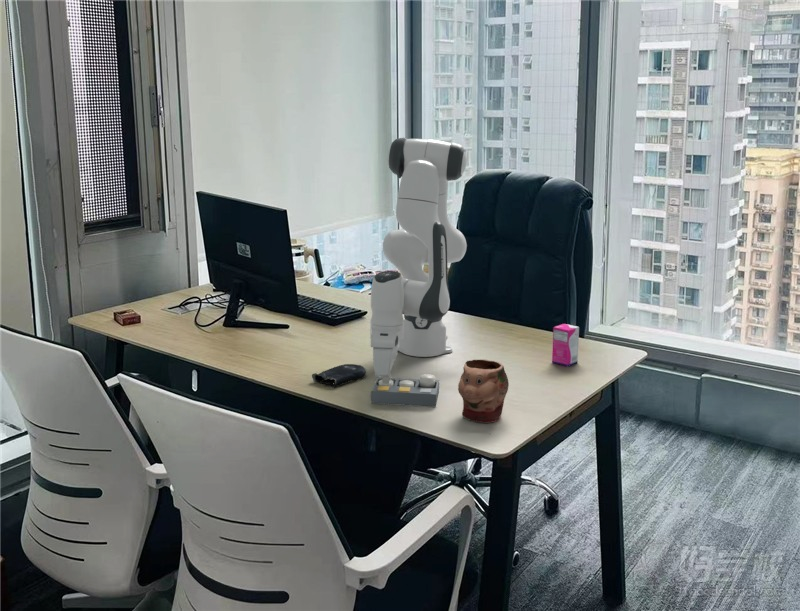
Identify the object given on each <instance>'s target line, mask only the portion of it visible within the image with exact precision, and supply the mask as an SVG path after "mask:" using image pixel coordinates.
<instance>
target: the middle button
mask: <svg viewBox="0 0 800 611" xmlns="http://www.w3.org/2000/svg"><path fill="white" fill-rule="evenodd" d="M399 386H403V387H414V382H413V381H409V380H404V381H400V382H399Z"/></svg>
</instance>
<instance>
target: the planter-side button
mask: <svg viewBox="0 0 800 611" xmlns="http://www.w3.org/2000/svg"><path fill="white" fill-rule="evenodd" d="M419 379H420V386H421V387H423V388H432V387H434V386H435V380H436V376H435V375H434V374H430V373H429V374H428V373H424V374H420V375H419Z"/></svg>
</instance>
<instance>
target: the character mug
mask: <svg viewBox="0 0 800 611" xmlns="http://www.w3.org/2000/svg"><path fill="white" fill-rule="evenodd" d="M509 384H510V383H509V377H508V374H507V373H506V370H505V366H504V365H503V363H501V362H499V361H495V360H489V359H483V358H482V359H470V360H467V361H466V362H464V366H463V371H462V373H461V376H460V379H459V381H458V385H457V390H458V393H459V395H460V397H461V398H462V401H463V402H462V403H463V404H462V406H463V408H462V414H461V415H462V416H463V418H465V419H466V420H469V421H471V422H472V421H473V422H476V423H485V424H487V423H489V424H490V423H495V422H497V421H498V420H500V417H501V416H502V413H503V408H504V402H505V399H506V396H507V394H508V392H509Z"/></svg>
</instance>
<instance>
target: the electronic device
mask: <svg viewBox="0 0 800 611" xmlns="http://www.w3.org/2000/svg"><path fill="white" fill-rule="evenodd" d="M367 374H368V373H367V369H366V368H365V367H364V366H363V365H361V364H355V363H345V364H340V365H337V366H334V367H331V368H329V369H325V370H323V371H321V372H319V373H318V374H317V373H314V372H313V373H311V379H312V380H313V383H318V384H319V385H323V386H326V387H327V386H328V387H331V388H336V387H338V386H341V385H344V384H346V383H347V384H348V383H349V382H354V381H357V380H360V379H363V378H364V377H366V375H367ZM330 379H332V380H335V381H332V380H330ZM323 381H326V382H323ZM333 383H334V384H333Z"/></svg>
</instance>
